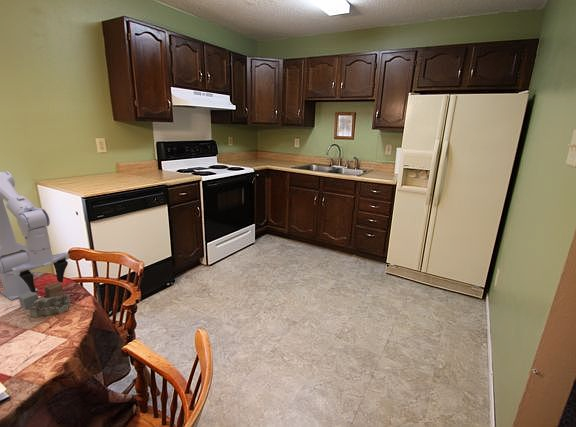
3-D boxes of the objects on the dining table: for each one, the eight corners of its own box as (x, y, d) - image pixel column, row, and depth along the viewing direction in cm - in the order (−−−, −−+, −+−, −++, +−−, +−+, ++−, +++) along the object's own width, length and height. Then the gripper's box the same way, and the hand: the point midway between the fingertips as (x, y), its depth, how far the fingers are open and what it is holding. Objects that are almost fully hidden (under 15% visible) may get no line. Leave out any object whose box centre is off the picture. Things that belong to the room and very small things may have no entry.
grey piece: (27, 320, 99) (24, 309, 97) (36, 307, 105) (33, 296, 104) (66, 313, 102) (64, 303, 101) (73, 301, 109) (71, 291, 108)
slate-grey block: (20, 305, 105) (18, 295, 104) (34, 300, 109) (32, 290, 108) (25, 309, 104) (23, 299, 102) (39, 304, 107) (37, 293, 106)
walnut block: (46, 296, 112) (44, 286, 111) (58, 291, 115) (56, 281, 114) (51, 299, 110) (49, 289, 109) (64, 294, 113) (62, 284, 112)
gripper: (15, 259, 89) (25, 300, 92) (71, 243, 101) (77, 280, 104) (5, 253, 92) (15, 293, 96) (60, 238, 104) (67, 274, 108)
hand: (47, 286), depth 100 cm, fingers open, 7 cm apart
